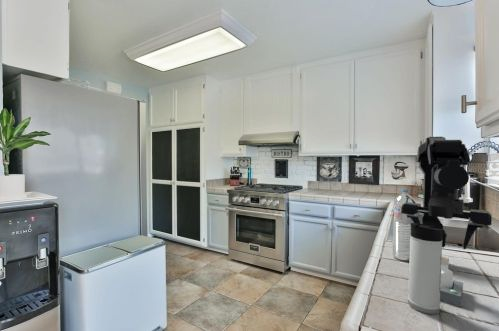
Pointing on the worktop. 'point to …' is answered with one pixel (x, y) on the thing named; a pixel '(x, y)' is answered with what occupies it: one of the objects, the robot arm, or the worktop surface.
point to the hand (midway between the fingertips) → (442, 244)
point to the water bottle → (401, 228)
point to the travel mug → (425, 268)
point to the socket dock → (452, 294)
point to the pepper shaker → (446, 274)
